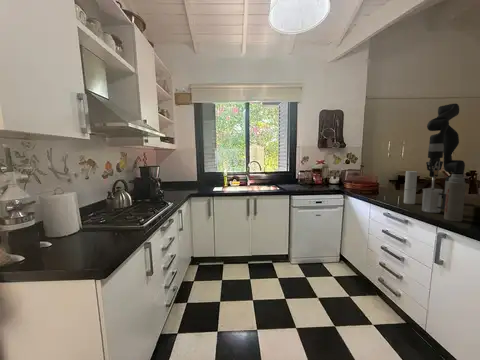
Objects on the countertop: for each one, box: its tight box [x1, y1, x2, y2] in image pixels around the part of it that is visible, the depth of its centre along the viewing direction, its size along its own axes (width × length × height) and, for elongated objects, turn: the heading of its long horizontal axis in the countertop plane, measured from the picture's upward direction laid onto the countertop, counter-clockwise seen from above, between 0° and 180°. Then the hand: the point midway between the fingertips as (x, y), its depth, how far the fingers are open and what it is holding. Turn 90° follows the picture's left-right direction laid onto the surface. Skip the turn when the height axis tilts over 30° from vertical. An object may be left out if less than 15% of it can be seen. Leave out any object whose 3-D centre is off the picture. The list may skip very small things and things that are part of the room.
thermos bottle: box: [443, 172, 467, 222], centre depth 133 cm, size 8×8×28 cm
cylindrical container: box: [403, 170, 418, 205], centre depth 177 cm, size 7×7×25 cm
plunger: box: [430, 170, 439, 190], centre depth 152 cm, size 5×5×18 cm
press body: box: [421, 187, 446, 214], centre depth 151 cm, size 9×12×15 cm
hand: (433, 176), depth 151 cm, fingers closed on plunger, 3 cm apart
